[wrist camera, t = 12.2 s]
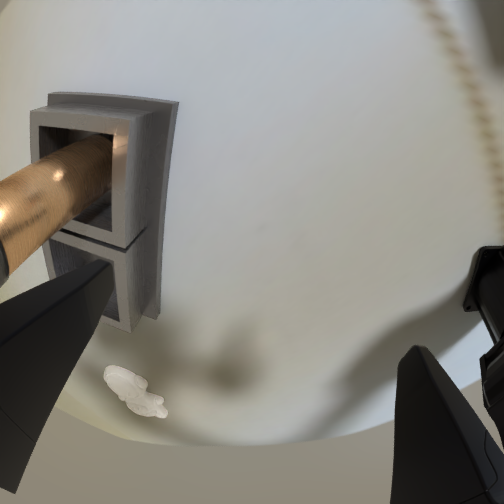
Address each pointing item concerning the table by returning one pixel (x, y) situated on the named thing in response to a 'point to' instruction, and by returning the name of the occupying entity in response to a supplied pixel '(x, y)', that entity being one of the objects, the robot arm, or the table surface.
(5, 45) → the table surface
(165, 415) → the astronaut figurine
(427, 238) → the table surface
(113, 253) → the grey two-compartment tray
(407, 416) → the robot arm
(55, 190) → the copper tube
